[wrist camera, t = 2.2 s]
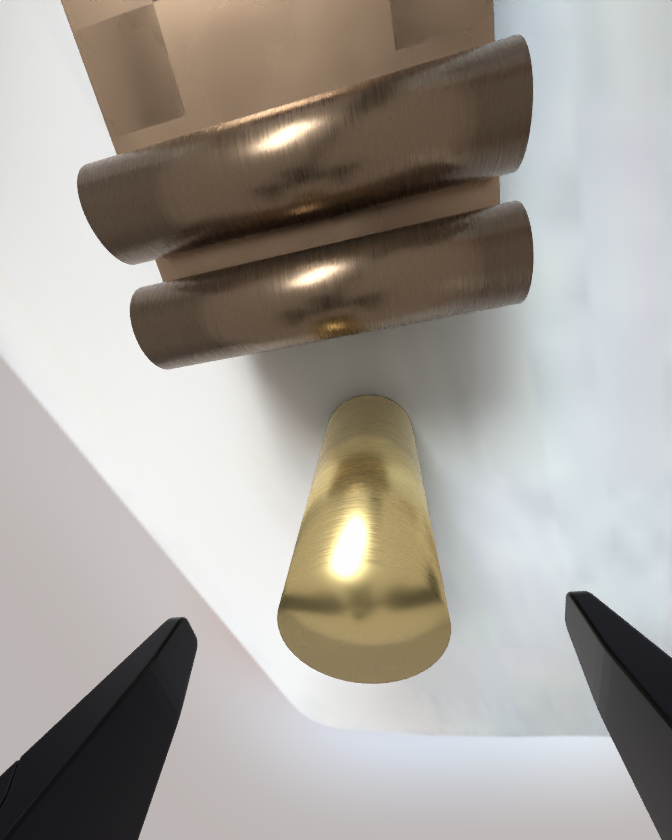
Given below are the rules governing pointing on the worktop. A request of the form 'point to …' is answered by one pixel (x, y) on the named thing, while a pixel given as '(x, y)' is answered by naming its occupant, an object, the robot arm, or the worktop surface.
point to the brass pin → (366, 555)
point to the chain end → (305, 166)
